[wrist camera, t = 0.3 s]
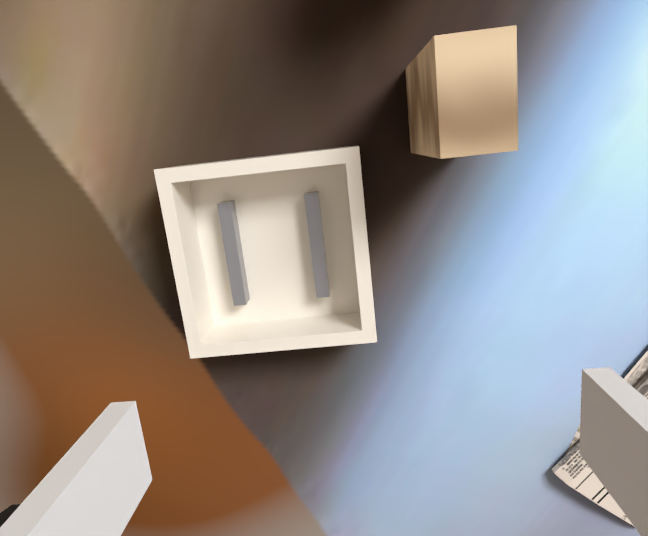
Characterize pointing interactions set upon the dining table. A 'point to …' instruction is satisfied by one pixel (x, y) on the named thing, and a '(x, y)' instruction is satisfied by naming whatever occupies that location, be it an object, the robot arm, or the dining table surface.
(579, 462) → the newspaper
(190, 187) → the white slotted box
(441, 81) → the light wood block
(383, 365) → the dining table surface
